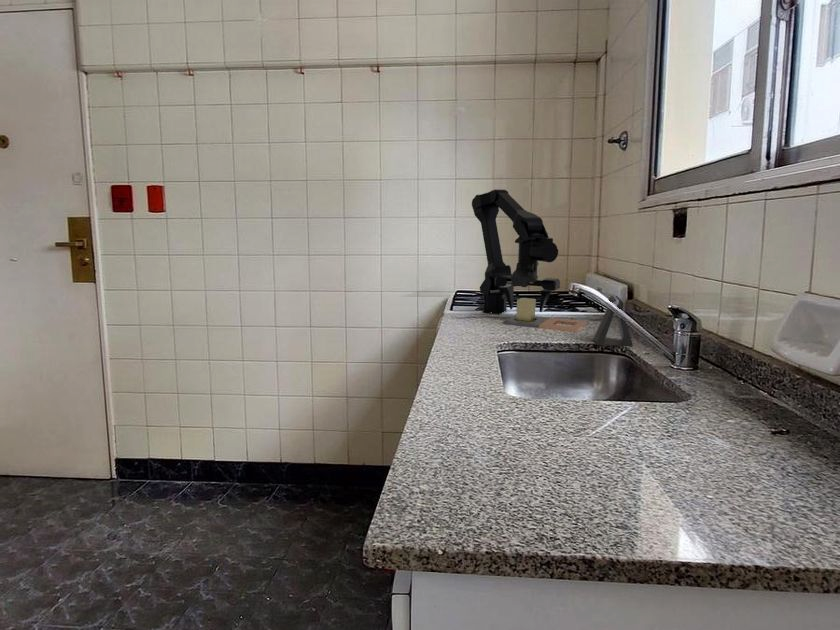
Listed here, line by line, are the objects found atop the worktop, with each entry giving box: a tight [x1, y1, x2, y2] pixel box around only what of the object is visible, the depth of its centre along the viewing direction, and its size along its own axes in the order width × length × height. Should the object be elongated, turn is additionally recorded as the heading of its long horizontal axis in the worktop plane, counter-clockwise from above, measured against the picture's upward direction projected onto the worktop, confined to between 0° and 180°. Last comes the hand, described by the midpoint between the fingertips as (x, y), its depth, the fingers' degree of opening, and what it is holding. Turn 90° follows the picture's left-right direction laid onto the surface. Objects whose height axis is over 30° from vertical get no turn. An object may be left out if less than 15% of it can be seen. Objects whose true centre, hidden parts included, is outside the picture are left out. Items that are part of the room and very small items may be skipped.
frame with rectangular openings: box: [502, 313, 588, 333], centre depth 167 cm, size 22×12×1 cm, turn 61°
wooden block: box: [516, 297, 537, 322], centre depth 169 cm, size 4×4×7 cm
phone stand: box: [593, 295, 634, 348], centre depth 144 cm, size 9×6×12 cm, turn 78°
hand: (525, 310), depth 170 cm, fingers open, 9 cm apart
